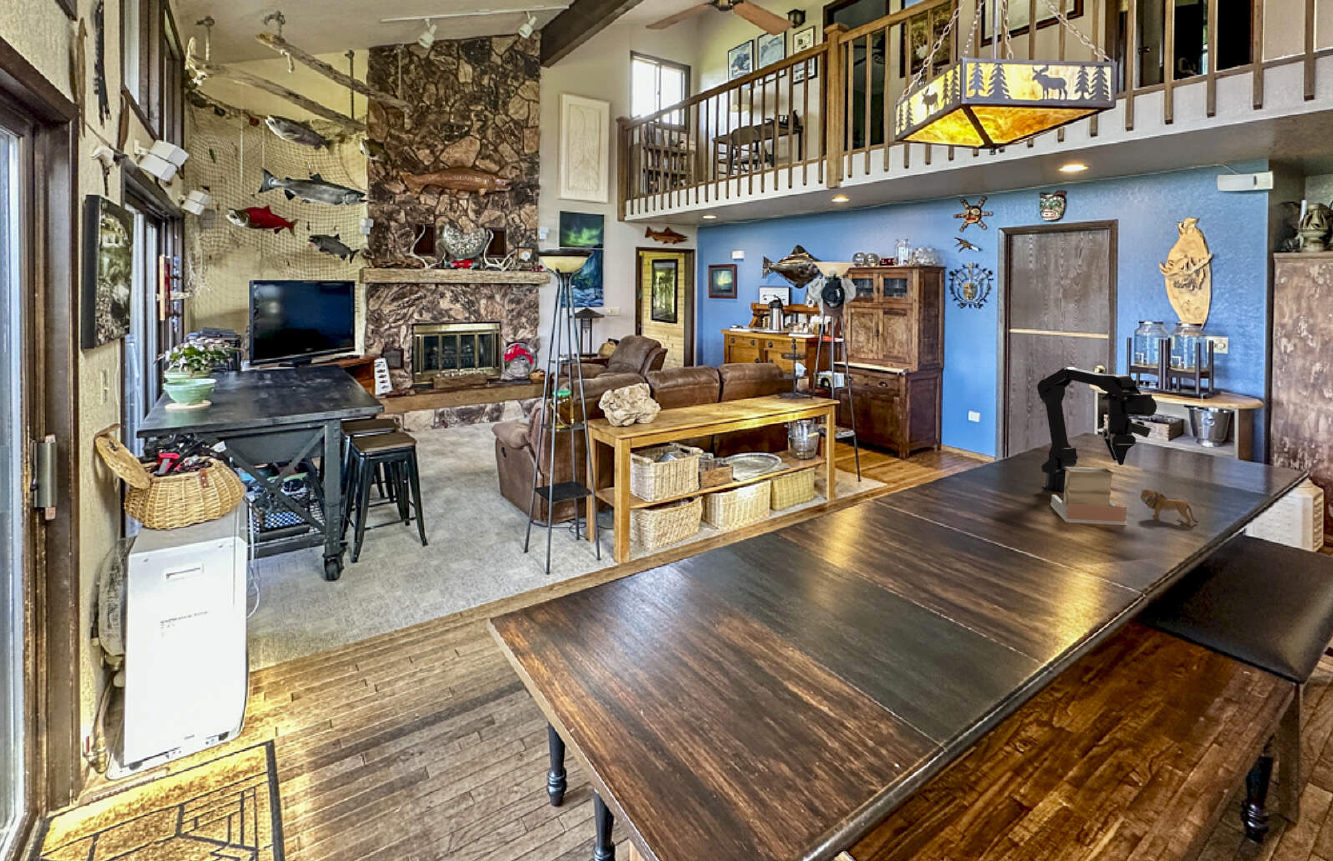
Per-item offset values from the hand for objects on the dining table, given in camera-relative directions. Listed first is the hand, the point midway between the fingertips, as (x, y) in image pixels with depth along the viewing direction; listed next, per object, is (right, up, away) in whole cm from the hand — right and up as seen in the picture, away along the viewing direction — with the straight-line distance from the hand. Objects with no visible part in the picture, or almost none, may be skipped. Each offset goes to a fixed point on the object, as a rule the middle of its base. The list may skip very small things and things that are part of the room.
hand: (1117, 462), depth 222 cm
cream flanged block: (-13, -15, -5) cm, 20 cm away
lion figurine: (+6, -17, -13) cm, 22 cm away
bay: (-14, -16, -6) cm, 22 cm away
